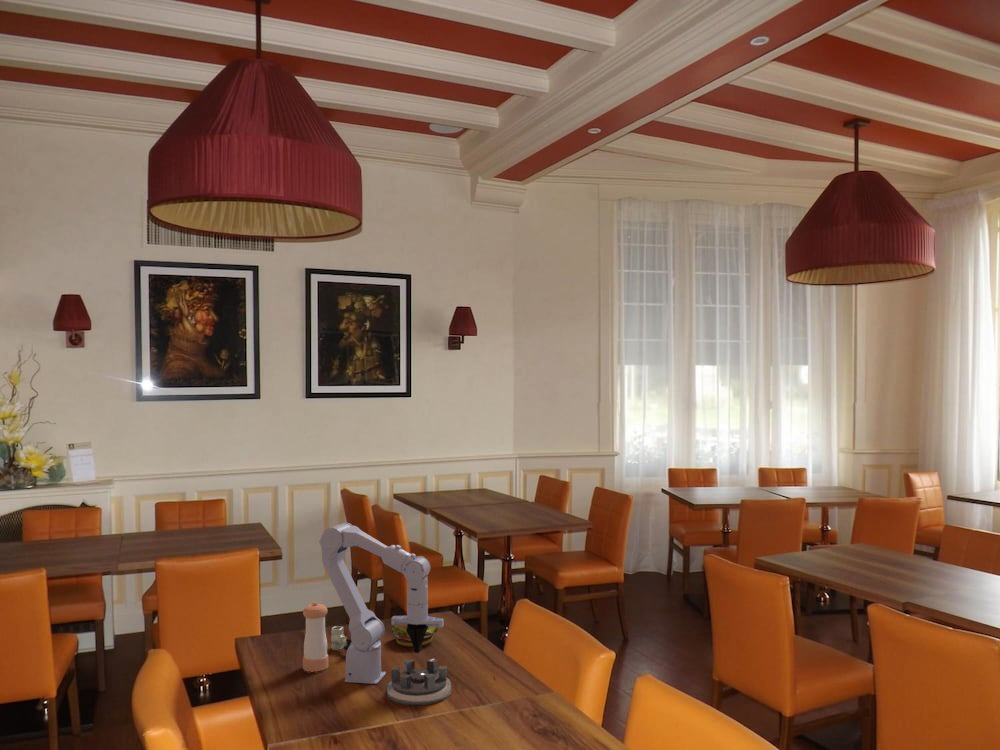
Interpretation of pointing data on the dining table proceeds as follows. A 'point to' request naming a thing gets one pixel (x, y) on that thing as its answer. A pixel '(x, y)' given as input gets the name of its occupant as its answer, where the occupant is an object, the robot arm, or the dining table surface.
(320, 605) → the salt shaker
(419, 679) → the finned metal hub
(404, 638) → the food
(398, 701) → the cap base
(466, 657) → the dining table surface
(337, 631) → the valve
